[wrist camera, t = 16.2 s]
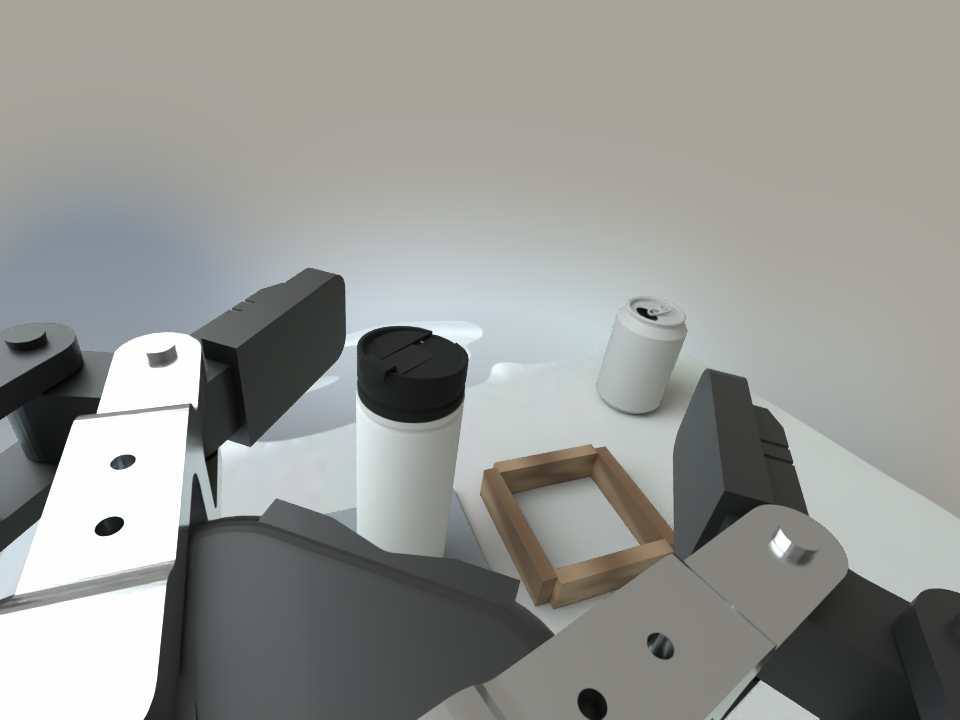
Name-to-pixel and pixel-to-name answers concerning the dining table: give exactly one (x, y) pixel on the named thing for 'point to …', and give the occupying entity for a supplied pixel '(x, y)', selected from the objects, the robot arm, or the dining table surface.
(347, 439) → the dining table surface
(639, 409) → the can
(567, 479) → the frame
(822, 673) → the robot arm
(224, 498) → the dining table surface
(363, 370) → the travel mug
